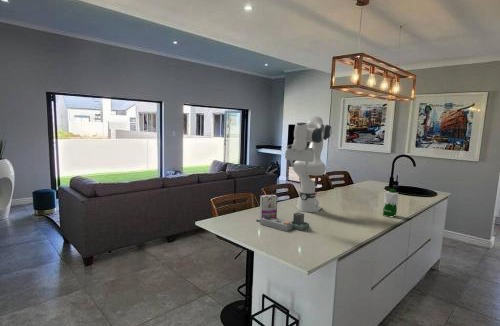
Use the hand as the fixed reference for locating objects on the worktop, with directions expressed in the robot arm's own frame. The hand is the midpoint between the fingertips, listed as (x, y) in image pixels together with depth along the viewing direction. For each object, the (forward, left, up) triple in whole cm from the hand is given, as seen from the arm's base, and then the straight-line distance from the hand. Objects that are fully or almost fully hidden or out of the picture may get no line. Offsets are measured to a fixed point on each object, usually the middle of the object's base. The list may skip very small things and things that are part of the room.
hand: (298, 167), depth 196 cm
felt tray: (+10, +7, -37) cm, 39 cm away
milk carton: (-63, +46, -37) cm, 86 cm away
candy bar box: (+9, -17, -37) cm, 42 cm away
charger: (+10, +7, -36) cm, 38 cm away
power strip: (+19, -7, -37) cm, 42 cm away
